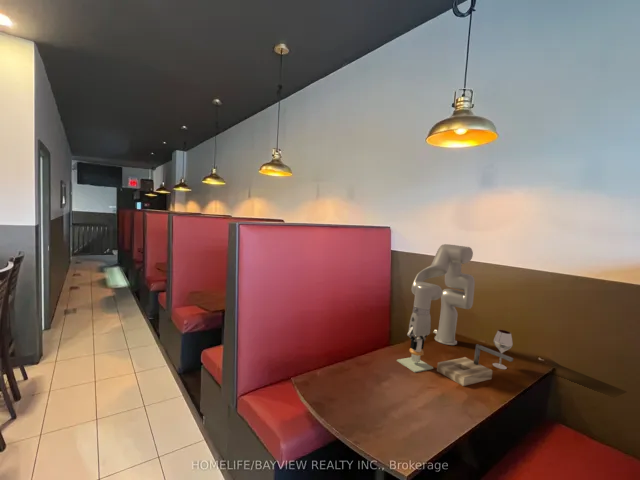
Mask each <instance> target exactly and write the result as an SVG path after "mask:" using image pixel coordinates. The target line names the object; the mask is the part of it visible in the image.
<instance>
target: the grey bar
mask: <svg viewBox="0 0 640 480" xmlns="http://www.w3.org/2000/svg"><path fill="white" fill-rule="evenodd" d="M481 351H483V352H486V353H488V354H491V355H493V356H496V357H499V359H500V358H502V360H505V361H508V362H513V361H514V358H513V357H511V356H509V355H506V354H504V353H502V354H501V352H500V351H496V350H494V349H491V348H489V347H486V346H483V345H481V344H475V350H474V357H473V361H474V364H476V365H478V364H480V363H479V361H480V354H481Z"/></svg>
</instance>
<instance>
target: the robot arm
mask: <svg viewBox="0 0 640 480" xmlns="http://www.w3.org/2000/svg"><path fill="white" fill-rule="evenodd" d="M473 255H474V250H473V249H472V248H471V247H470V246H463V245H456V244H446V243H445V244H441V245H440V246H439V247H438V249H437V251H436V253H435V255H434V258H433V260H432V262H431V264H430V265H429V266H426V267H425V268H423V269H422V270H421V271H419V272H418V273H417V274H416V275H415V277H414V280H413V282H412V284H411V289H410V291H411V293H412V294H413V295H414V301H413V308H412V313H411V315H410V320H409V324H408V332H407V334H406V335H407V337H409V338H410V348H412V349H414V350H416V348H417V342H416V340H417V337H419V338H421V339H422V347H421V350H424V346H425V341H426V338H427V337H428V335H430V334H431V326H432V325H431V324H432V320H431V319H432V317H431V313H430V311H431V305H432V304H431V303H432V301H437V300H439V299H440V303H441V305H440V313H439V315H440V316H439V321H438V322H439V323H438V328H437V329H434V330H433V332H432V333H433V334H435V335H434V340H435V341H436V342H438V343H440V344H442V345H447V346H448V345H449V346H455V345H458V341H457V340H456V332H457V325H458V324H457V323H458V315H459V314H458V311H457V309H456V308H461V309H463V310H464V309H465V310H470V309H471V308H473V305H474V297H475V284H476V282H475V278H474V276H473V275H472V274H468V273H463V272H462V264H468V263H469V262H470V261H472V259H473V257H474V256H473ZM442 276H444V284H445V286H446V287H447V288H444V289H442V287H441V286H440V285H439V284H434V283H431V282H430V283H429V282H426V280H428V279H431V278H438V277H442ZM424 281H425V282H424ZM414 337H415V338H414Z"/></svg>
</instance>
